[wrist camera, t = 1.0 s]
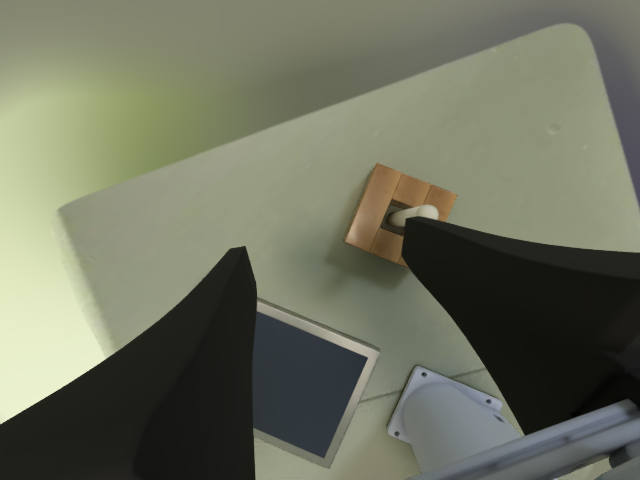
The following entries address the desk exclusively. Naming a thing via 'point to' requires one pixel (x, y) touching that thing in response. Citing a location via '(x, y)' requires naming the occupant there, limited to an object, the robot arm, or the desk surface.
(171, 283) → the desk surface
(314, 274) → the desk surface
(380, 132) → the desk surface
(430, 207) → the white peg
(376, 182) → the pen stand
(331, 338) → the tablet
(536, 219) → the desk surface
